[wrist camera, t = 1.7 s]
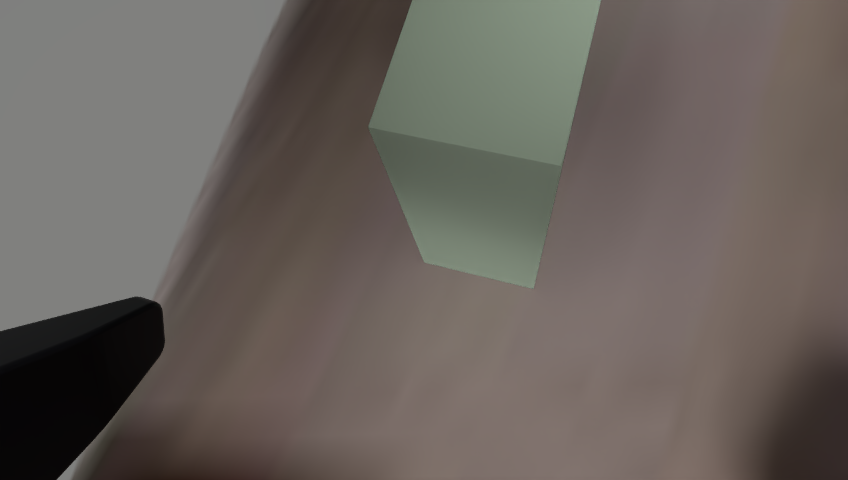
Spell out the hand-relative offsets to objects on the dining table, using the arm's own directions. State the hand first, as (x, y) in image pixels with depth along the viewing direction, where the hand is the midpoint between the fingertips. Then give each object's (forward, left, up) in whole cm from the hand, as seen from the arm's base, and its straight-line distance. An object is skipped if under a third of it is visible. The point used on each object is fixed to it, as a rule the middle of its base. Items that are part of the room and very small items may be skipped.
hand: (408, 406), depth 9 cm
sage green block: (+7, +5, -13) cm, 16 cm away
